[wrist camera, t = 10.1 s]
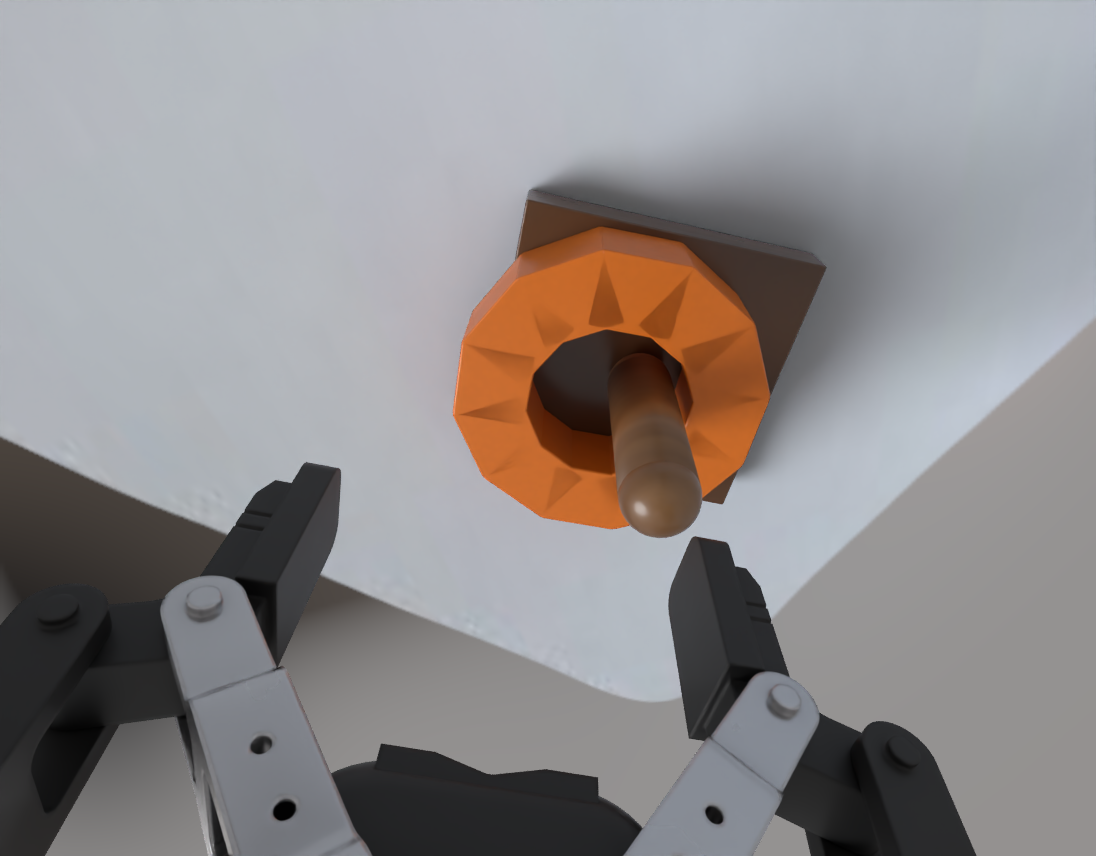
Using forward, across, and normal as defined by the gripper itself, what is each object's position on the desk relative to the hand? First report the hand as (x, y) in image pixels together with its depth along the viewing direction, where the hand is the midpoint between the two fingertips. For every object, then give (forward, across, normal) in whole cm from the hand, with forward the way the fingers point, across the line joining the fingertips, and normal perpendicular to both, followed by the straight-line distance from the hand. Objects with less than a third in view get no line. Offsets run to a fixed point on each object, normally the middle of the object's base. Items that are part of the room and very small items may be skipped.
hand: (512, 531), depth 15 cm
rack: (+12, -4, 0) cm, 12 cm away
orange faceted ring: (+10, -3, 0) cm, 10 cm away
